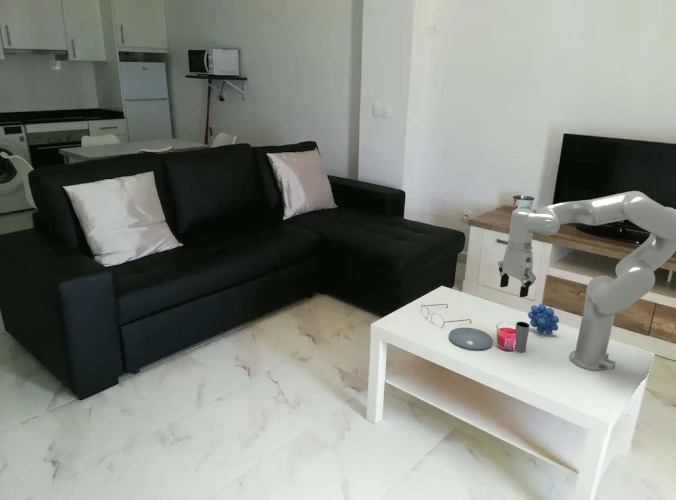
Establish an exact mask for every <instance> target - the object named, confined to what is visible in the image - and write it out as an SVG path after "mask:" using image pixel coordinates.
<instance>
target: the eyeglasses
mask: <svg viewBox="0 0 676 500" xmlns="http://www.w3.org/2000/svg"><path fill="white" fill-rule="evenodd" d="M420 306H421V307H420V309H422V308H423V307H425V308H426V309H427V311H428V313H427V316H426V317H425V319H427V318H428V317H429V316H431V323H432V324H434V323H433V314H434V315H437V316H439V317H441V318H442V316H441V315H439V314H438V313H435V312H433V311H431V310H430V309H429V308H428V307H432V306H433V307H434V306H435V307H436V304H429V305H428V304H427V305H425V304H424V303H423V304H421V305H420ZM437 306H446V307H445V308H448V307H449V306H448V303H439V304H437ZM442 320H443V325H442V326H441V327H440V328H441V329H442V328H443V327H444V326H445V323H446V321H445V320H444V318H442ZM463 321H464V322H465V321H469V324H472V319H469V318H467V319H459V320H458V319H457V320H450V321H449V320H448V321H447V323H453V322H463Z"/></svg>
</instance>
